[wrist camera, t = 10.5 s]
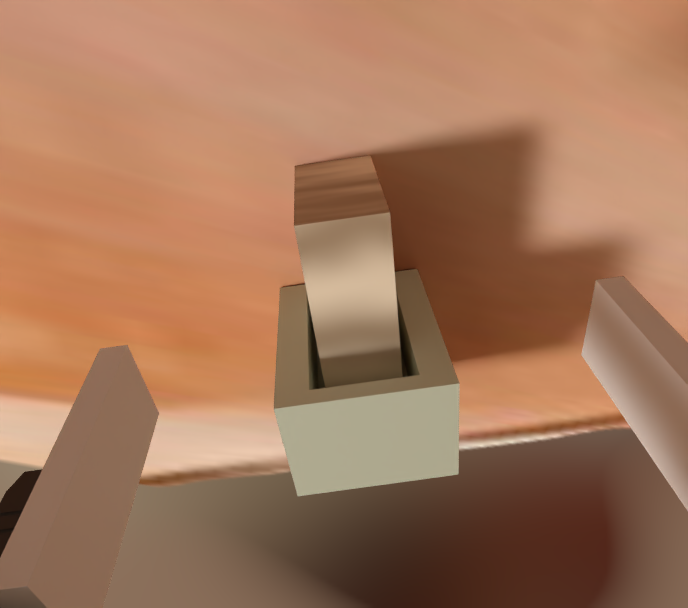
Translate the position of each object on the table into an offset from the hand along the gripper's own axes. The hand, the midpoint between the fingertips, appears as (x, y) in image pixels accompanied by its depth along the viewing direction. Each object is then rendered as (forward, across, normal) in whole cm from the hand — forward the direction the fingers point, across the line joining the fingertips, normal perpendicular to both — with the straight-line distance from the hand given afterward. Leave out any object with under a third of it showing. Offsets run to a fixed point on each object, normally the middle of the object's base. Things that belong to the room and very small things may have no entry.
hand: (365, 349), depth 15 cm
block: (+22, 0, -15) cm, 27 cm away
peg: (+22, 0, -9) cm, 24 cm away
